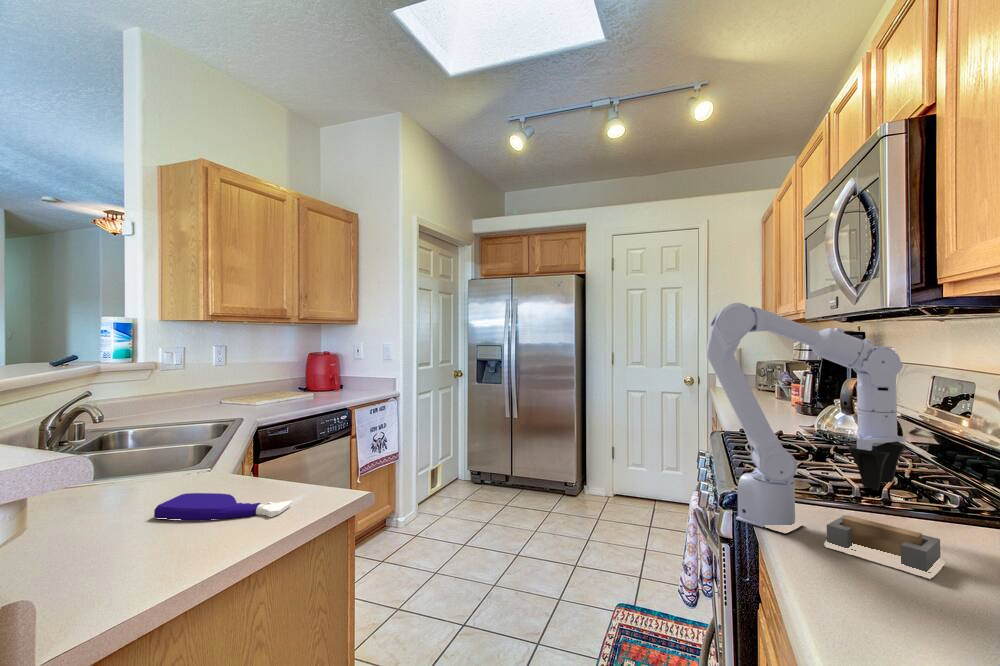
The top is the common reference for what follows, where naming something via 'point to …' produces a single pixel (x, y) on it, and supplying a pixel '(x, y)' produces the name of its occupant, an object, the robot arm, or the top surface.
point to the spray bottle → (214, 507)
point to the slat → (880, 535)
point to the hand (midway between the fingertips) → (878, 484)
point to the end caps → (910, 553)
